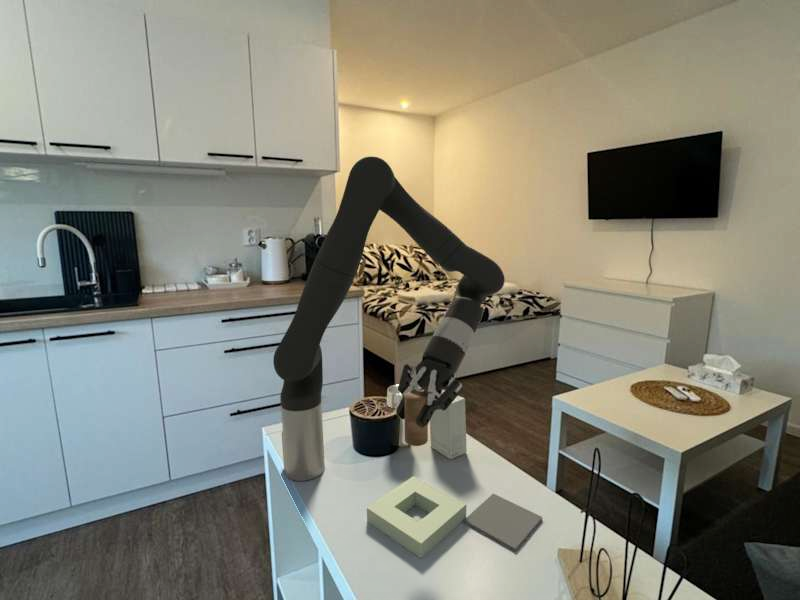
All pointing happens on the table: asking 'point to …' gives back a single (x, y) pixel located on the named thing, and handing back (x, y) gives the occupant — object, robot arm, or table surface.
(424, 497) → the collar block
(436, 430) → the skincare box
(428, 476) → the table surface
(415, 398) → the walnut pin
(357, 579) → the table surface
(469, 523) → the rubber mat
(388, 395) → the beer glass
